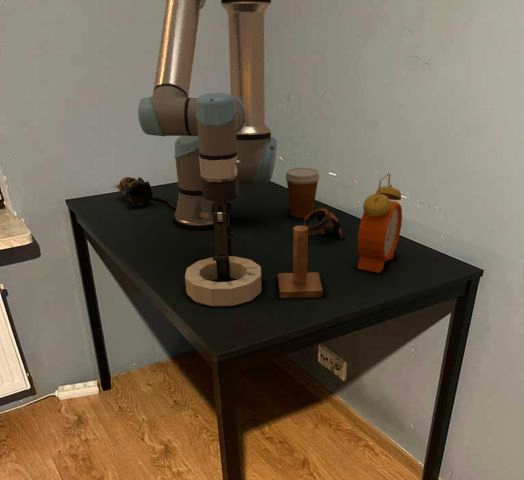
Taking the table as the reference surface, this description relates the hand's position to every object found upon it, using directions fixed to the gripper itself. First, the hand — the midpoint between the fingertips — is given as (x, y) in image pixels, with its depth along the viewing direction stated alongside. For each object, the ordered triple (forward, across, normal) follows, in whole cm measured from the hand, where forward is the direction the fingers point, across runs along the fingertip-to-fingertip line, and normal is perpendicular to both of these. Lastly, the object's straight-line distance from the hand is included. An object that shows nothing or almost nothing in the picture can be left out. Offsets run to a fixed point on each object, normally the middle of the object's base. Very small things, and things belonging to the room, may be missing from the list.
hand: (225, 274), depth 124 cm
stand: (0, -7, -16) cm, 18 cm away
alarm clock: (0, +5, -35) cm, 36 cm away
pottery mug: (0, +22, -25) cm, 33 cm away
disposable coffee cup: (0, +40, -20) cm, 45 cm away
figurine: (0, +54, +30) cm, 62 cm away
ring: (0, -6, 0) cm, 7 cm away
